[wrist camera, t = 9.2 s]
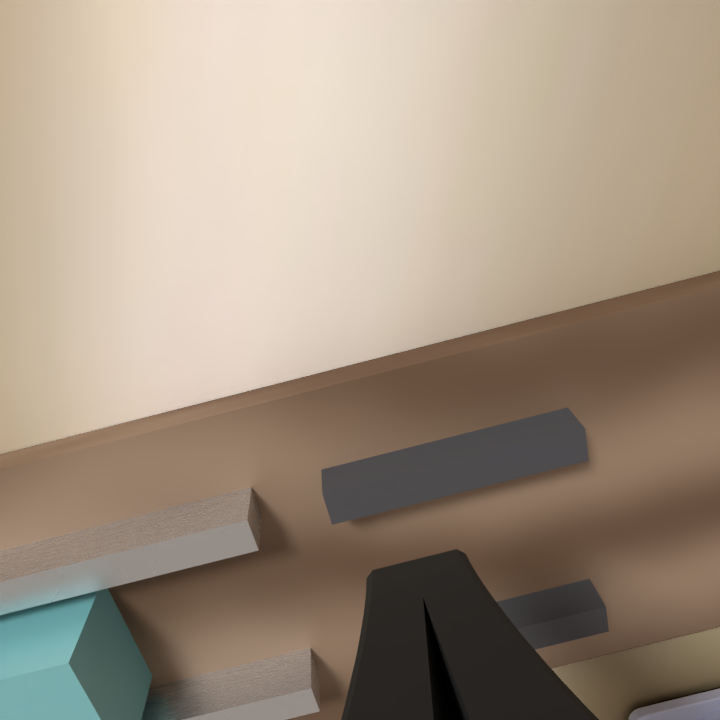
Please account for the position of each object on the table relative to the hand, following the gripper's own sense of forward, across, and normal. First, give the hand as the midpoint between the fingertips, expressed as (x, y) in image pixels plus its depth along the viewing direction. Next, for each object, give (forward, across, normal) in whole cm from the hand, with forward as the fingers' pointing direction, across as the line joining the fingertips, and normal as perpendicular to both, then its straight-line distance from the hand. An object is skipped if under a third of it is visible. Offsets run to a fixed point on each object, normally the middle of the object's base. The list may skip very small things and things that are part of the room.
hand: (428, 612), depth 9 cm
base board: (+9, +4, +6) cm, 12 cm away
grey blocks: (+8, -2, +6) cm, 10 cm away
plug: (+8, +12, +6) cm, 16 cm away
